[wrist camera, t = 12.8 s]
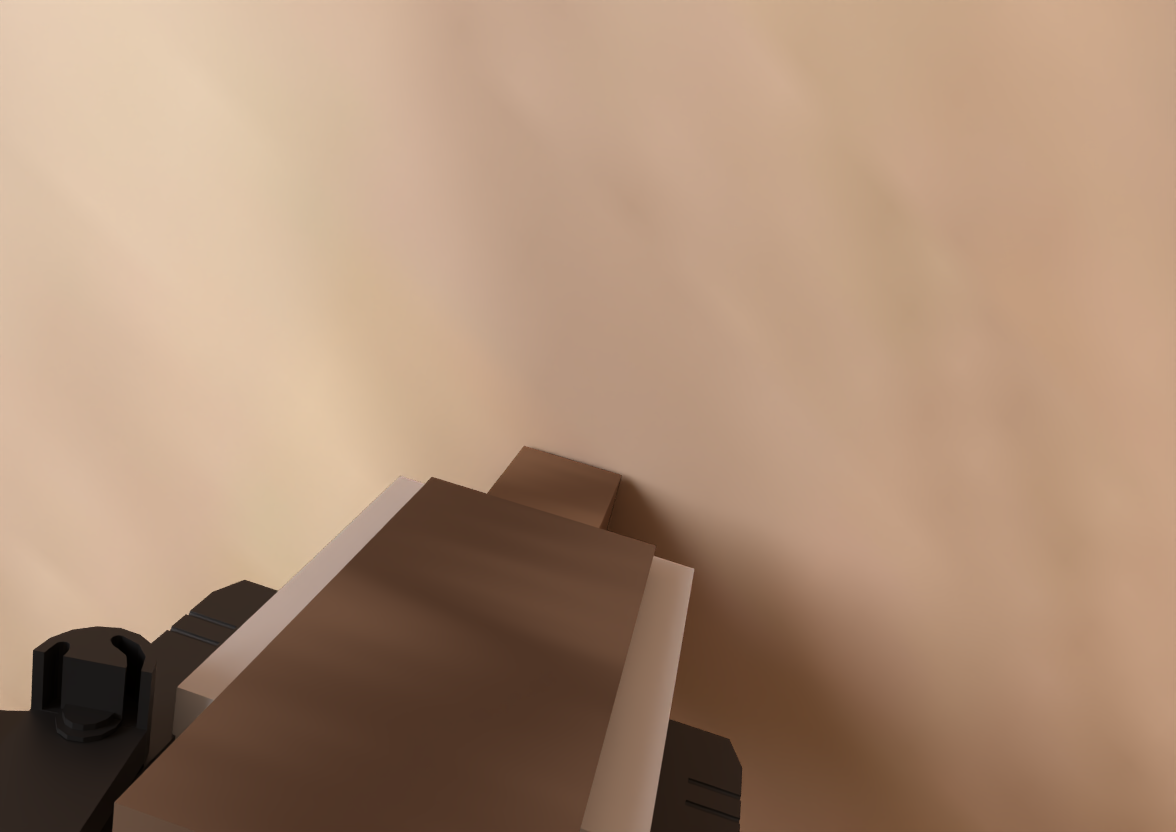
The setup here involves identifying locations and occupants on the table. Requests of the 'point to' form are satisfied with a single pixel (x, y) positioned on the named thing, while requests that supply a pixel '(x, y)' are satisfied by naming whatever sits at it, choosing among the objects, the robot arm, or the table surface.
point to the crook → (427, 676)
